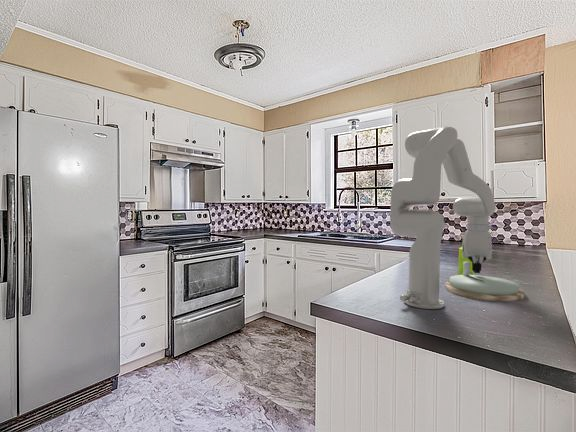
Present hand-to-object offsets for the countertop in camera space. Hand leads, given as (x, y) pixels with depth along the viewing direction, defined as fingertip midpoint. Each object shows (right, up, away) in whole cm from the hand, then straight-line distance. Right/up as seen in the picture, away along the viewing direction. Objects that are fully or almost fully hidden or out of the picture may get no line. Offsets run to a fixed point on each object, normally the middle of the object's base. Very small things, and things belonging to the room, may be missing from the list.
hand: (476, 272), depth 134 cm
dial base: (-3, -6, -9) cm, 11 cm away
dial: (-3, -4, -9) cm, 10 cm away
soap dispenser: (+4, -5, +16) cm, 17 cm away
